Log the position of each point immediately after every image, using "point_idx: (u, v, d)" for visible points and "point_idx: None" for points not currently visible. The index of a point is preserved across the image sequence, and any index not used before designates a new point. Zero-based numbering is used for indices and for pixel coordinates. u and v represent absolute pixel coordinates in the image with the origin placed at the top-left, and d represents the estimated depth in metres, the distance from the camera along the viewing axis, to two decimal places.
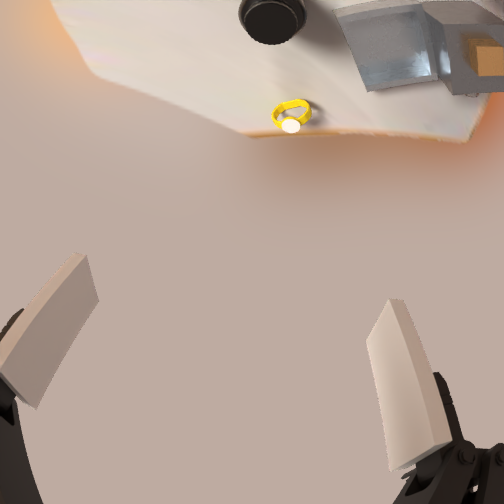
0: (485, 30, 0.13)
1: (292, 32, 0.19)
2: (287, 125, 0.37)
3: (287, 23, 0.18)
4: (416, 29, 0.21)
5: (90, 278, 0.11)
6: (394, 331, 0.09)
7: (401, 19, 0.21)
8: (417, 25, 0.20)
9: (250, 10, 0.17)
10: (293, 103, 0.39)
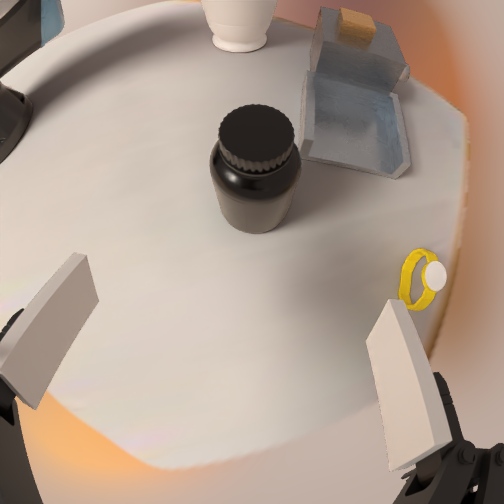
0: (328, 20, 0.24)
1: (284, 117, 0.16)
2: (433, 280, 0.21)
3: (267, 115, 0.16)
4: (339, 95, 0.30)
5: (90, 278, 0.11)
6: (394, 331, 0.09)
7: (326, 104, 0.30)
8: (334, 89, 0.29)
9: (220, 138, 0.16)
10: (405, 278, 0.26)
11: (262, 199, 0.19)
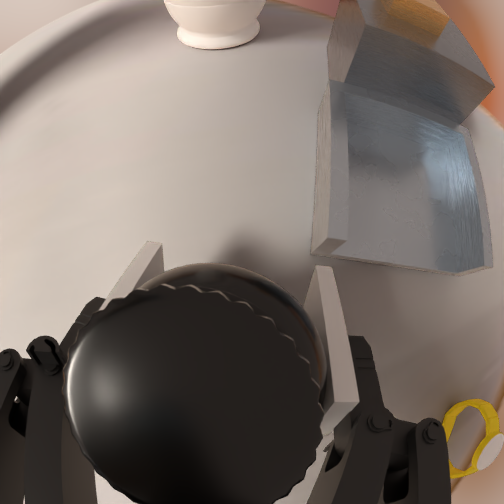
0: None
1: (290, 367, 0.04)
2: (486, 458, 0.08)
3: (221, 356, 0.04)
4: (382, 126, 0.17)
5: (162, 266, 0.13)
6: (317, 293, 0.11)
7: (361, 141, 0.18)
8: (374, 114, 0.16)
9: (73, 429, 0.04)
10: (447, 426, 0.14)
11: None
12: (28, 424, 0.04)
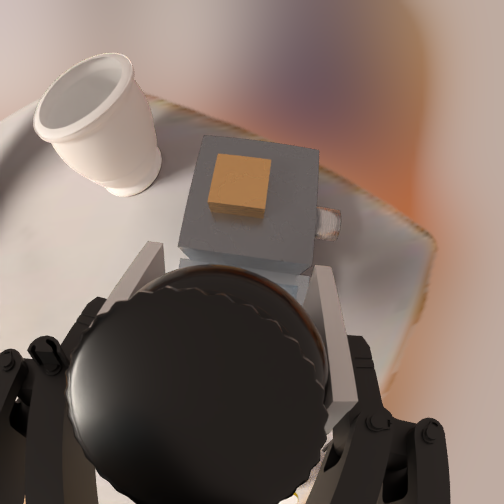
0: (203, 177, 0.22)
1: (295, 369, 0.04)
2: None
3: (226, 359, 0.04)
4: None
5: (163, 266, 0.13)
6: (316, 293, 0.11)
7: None
8: None
9: (76, 432, 0.04)
10: None
11: None
12: (29, 424, 0.04)
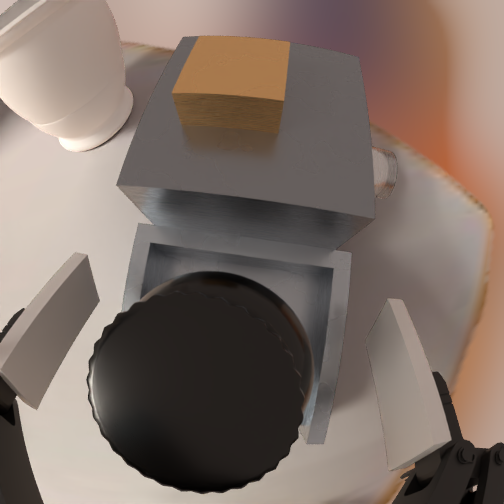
0: (174, 80, 0.11)
1: (277, 358, 0.05)
2: None
3: (222, 349, 0.05)
4: (219, 260, 0.17)
5: (91, 278, 0.11)
6: (393, 330, 0.09)
7: None
8: (200, 254, 0.16)
9: (95, 412, 0.05)
10: None
11: None
12: None
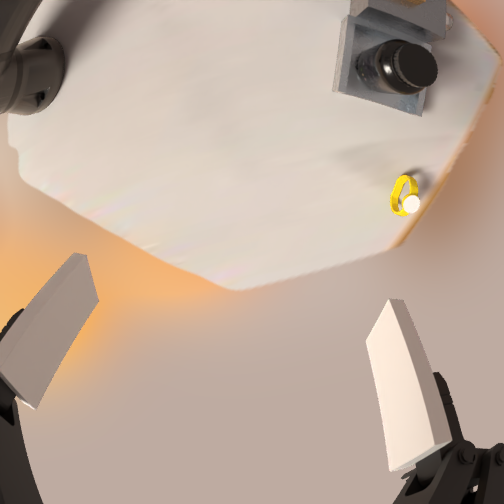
0: None
1: (433, 60, 0.18)
2: (409, 206, 0.33)
3: (425, 55, 0.18)
4: (376, 34, 0.25)
5: (90, 278, 0.11)
6: (394, 331, 0.09)
7: (363, 41, 0.26)
8: (371, 31, 0.24)
9: (399, 64, 0.19)
10: (398, 187, 0.38)
11: (407, 94, 0.23)
12: None
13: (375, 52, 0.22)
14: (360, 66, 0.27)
